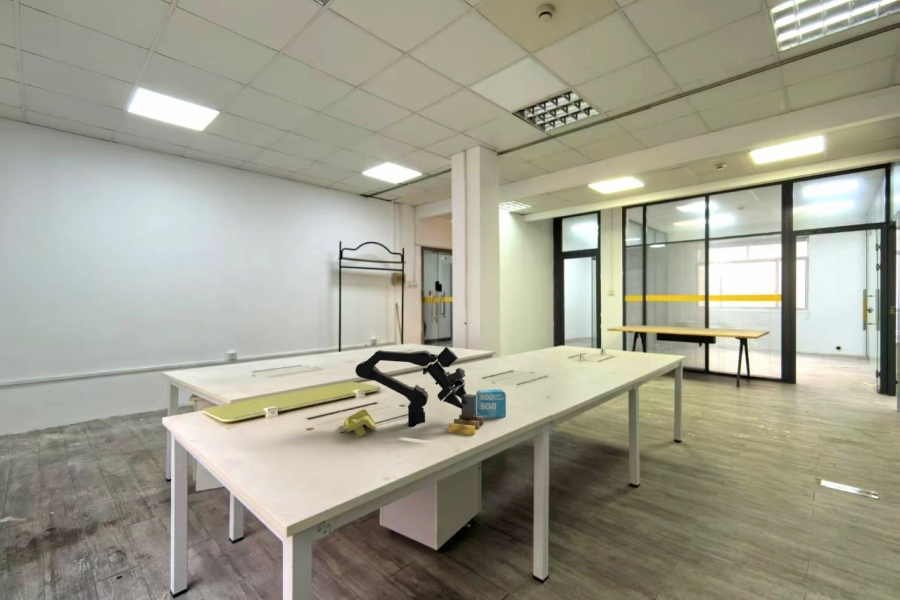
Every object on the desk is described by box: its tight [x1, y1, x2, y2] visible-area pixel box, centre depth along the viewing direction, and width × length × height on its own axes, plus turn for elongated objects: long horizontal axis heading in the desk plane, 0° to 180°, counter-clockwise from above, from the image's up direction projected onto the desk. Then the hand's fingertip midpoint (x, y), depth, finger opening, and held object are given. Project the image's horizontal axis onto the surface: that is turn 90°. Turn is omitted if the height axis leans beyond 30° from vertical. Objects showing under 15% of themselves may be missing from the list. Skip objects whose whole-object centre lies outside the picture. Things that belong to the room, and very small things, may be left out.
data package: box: [475, 388, 507, 419], centre depth 163 cm, size 12×4×12 cm, turn 98°
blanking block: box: [460, 393, 477, 421], centre depth 150 cm, size 5×4×12 cm
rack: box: [448, 414, 484, 436], centre depth 147 cm, size 10×13×4 cm
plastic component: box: [342, 408, 377, 438], centre depth 146 cm, size 20×7×10 cm
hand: (465, 404), depth 151 cm, fingers open, 9 cm apart
